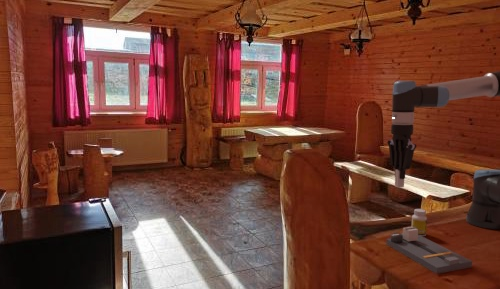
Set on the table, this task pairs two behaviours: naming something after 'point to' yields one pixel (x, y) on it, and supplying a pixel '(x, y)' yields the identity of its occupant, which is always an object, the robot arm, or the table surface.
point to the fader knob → (410, 234)
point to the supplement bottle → (420, 221)
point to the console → (429, 254)
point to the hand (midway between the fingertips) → (399, 186)
